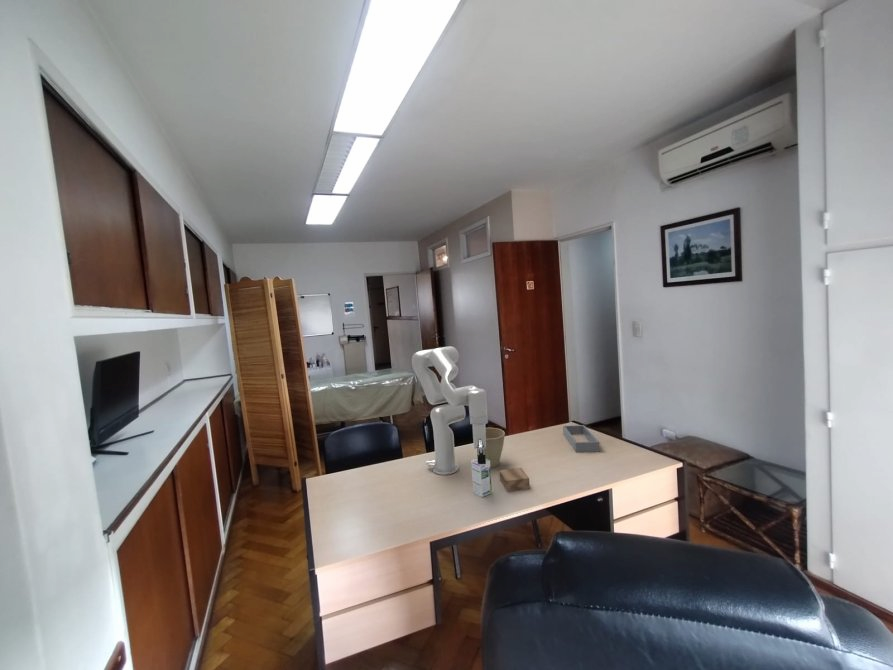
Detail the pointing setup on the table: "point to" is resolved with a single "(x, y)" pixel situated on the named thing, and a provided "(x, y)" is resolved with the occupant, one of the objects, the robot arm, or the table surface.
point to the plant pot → (494, 445)
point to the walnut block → (514, 479)
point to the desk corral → (581, 446)
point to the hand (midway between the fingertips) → (481, 459)
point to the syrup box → (481, 477)
